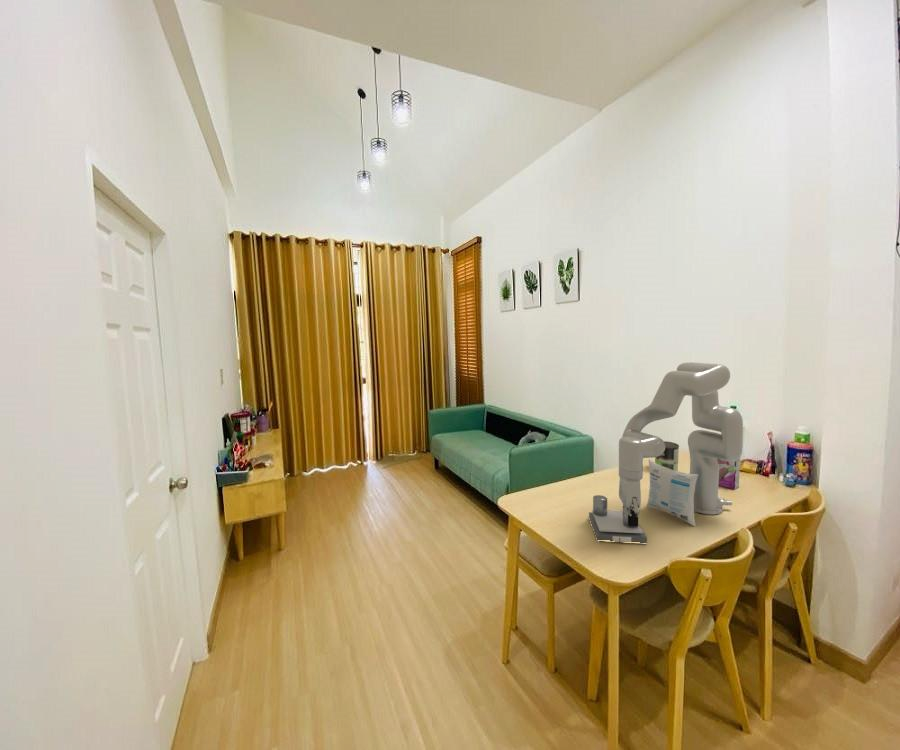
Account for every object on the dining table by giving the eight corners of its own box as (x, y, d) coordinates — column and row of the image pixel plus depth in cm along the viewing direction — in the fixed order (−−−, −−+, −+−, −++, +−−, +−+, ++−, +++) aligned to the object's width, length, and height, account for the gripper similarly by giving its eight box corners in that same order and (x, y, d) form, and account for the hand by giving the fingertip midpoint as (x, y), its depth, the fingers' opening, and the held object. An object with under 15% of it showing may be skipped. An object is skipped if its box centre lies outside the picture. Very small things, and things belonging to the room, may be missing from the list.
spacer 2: (621, 520, 133) (621, 504, 133) (635, 521, 132) (636, 505, 132) (624, 527, 129) (625, 511, 128) (640, 528, 128) (640, 512, 127)
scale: (632, 520, 141) (632, 510, 140) (647, 545, 125) (647, 534, 124) (588, 518, 144) (588, 508, 143) (597, 542, 128) (597, 531, 127)
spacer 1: (605, 510, 141) (605, 495, 141) (608, 516, 136) (608, 501, 136) (592, 509, 142) (591, 495, 142) (594, 516, 137) (594, 501, 137)
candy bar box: (706, 482, 170) (707, 448, 168) (710, 479, 173) (711, 446, 171) (735, 490, 161) (736, 454, 159) (739, 487, 164) (741, 451, 162)
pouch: (687, 530, 133) (689, 477, 130) (641, 508, 150) (642, 460, 148) (702, 524, 136) (703, 472, 133) (654, 503, 153) (655, 457, 151)
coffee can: (663, 476, 179) (664, 448, 178) (650, 468, 189) (650, 442, 188) (683, 474, 180) (684, 446, 179) (668, 466, 190) (669, 440, 189)
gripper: (612, 463, 137) (612, 509, 139) (625, 482, 120) (625, 534, 123) (634, 463, 136) (634, 509, 138) (650, 483, 119) (649, 535, 121)
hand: (630, 520), depth 130 cm, fingers open, 5 cm apart
